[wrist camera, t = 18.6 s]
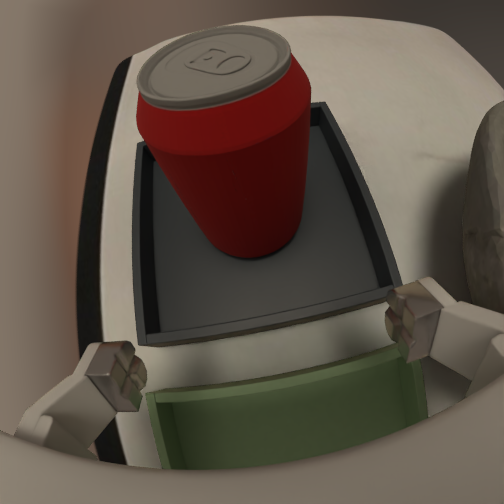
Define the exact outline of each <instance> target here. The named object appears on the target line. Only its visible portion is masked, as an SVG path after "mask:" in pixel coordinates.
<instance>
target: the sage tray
mask: <svg viewBox="0 0 504 504" xmlns="http://www.w3.org/2000/svg"><path fill="white" fill-rule="evenodd" d="M398 344H399V343H395V344H392V345H389V346H386V347H383V348H380V349H377V350H374V351H370V352H367V353H364V354H361V355H357V356H354V357H350V358H347V359H343V360H339V361H335V362H332V363H328V364H324V365H320V366H315V367H311V368H307V369H302V370H298V371H293V372H288V373H283V374H278V375H273V376H267V377H262V378H256V379H249V380H243V381H236V382H229V383H221V384H213V385H203V386H193V387H181V388H166V389H161V390H157V391H153V392H149V393H146V394H145V395H146V400H147V405H148V411H149V415H150V420H151V425H152V429H153V434H154V438H155V442H156V446H157V450H158V454H159V458H160V461H161V465H162V469H176V470H215V469H234V468H246V467H256V466H264V465H271V464H278V463H285V462H290V461H296V460H301V459H306V458H311V457H316V456H320V455H324V454H328V453H332V452H336V451H340V450H343V449H347V448H350V447H354V446H357V445H360V444H363V443H366V442H369V441H372V440H375V439H378V438H381V437H384V436H386V435H389V434H392V433H394V432H397V431H399V430H402V429H404V428H407V427H409V426H411V425H414V424H416V423H418V422H420V421H423V420H425V419H427V418H428V410H427V401H426V393H425V386H424V379H423V373H422V367H421V361H420V359H418V360H415V361H413V362H410V363H407V364H406V362H405V361H404V359H403V357H402V356H401V354H400V353H399V351H398Z"/></svg>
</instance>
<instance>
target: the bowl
mask: <svg viewBox="0 0 504 504" xmlns="http://www.w3.org/2000/svg"><path fill="white" fill-rule="evenodd" d="M462 238H463V256H464V266H465V271H466V276H467V281H468V286H469V290H470V294H471V299H472V303H473V305H476V306H479V307H482V308H485V309H488V310H491V311H495V312H498V313H501V314H504V101H502V102H500V103H498V104H496V105H495V106H493V107H492V108H491V109H490V110H489V111H488V112H487V113H486V114H485V116H484V118H483V119H482V121H481V124H480V126H479V128H478V130H477V133H476V136H475V139H474V143H473V148H472V152H471V158H470V165H469V170H468V177H467V183H466V191H465V200H464V209H463V224H462Z"/></svg>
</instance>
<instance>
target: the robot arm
mask: <svg viewBox="0 0 504 504" xmlns="http://www.w3.org/2000/svg"><path fill="white" fill-rule="evenodd" d="M386 302H387V303H388V304H389V308H388V309H387V311H386V312H385V325H386V330H387V332H388V335H389V337H390V338H391V340H393V341H395V342H397V343H399V344H398V351H399V353H400V354H401V356H402V357H403V359H404V361H405V362H406V364H407V363H410V362H413V361H415V360H418V359H421V358H423V357H426V356H428V355H429V357H431V358H433V359H434V360H436V361H438V362H440V363H441V364H443V365H445V366H447V367H448V368H450V369H452V370H454V371H455V372H457V373H459V374H461V375H462V376H464V377H466V378H467V379H469V380H471V381H472V382H471V384H470V386H469V388H468V390H467V392H466V394H465V399H463V400H462V401H460V402H458V403H456V404H454V405H453V406H451V407H449V408H447V409H445V410H443V411H441V412H439V413H437V414H435V415H433V416H431V417H429V418H427V419H425V420H423V421H420V422H418V423H416V424H414V425H411V426H409V427H407V428H404V429H402V430H399V431H397V432H394V433H392V434H389V435H386V436H384V437H381V438H378V439H375V440H372V441H369V442H366V443H363V444H360V445H357V446H354V447H350V448H347V449H343V450H340V451H336V452H332V453H328V454H324V455H320V456H316V457H311V458H306V459H301V460H296V461H290V462H285V463H278V464H271V465H264V466H256V467H246V468H234V469H215V470H176V469H158V468H146V467H136V466H128V465H121V464H114V463H108V462H102V461H97V460H98V459H97V457H96V455H94V454H93V453H92V452H90V451H89V450H88V448H89V446H90V445H91V444H92V443H93V442H94V440H95V439H96V438H97V437H98V436H99V434H100V433H101V432H102V431H103V430H104V428H105V427H106V426H107V425H108V424H109V422H110V421H111V420H112V419H113V418H114V417H115V415H116V414H117V412H138V411H139V408H140V404H141V400H142V397H143V396H142V394H141V392H140V391H141V390H142V389H143V388H144V387H145V386H146V382H147V370H146V367H145V365H144V363H143V361H142V360H141V359H140V358H139V357H137V356H136V355H135V348H134V346H133V345H132V343H131V342H129V341H114V342H103V343H102V342H100V343H92V344H90V345H88V347H87V349H86V351H85V353H84V354H83V356H82V358H81V360H80V362H79V364H78V365H77V367H76V369H75V371H74V373H73V375H70V376H68V377H67V378H65V379H64V380H63V381H61V382H60V383H59V384H58V385H56V386H55V387H54V388H53V389H51V390H50V391H49V392H48V393H46V394H45V395H44V396H43V397H41V398H40V399H39V400H38V401H36V402H35V403H34V404H33V405H32V406H30V407H29V408H28V409H26V411H25V413H24V415H23V417H22V419H21V421H20V423H19V426H18V427H17V430H16V432H15V434H14V436H12V435H10V434H8V433H5V432H3V431H1V430H0V504H504V314H501V313H498V312H495V311H491V310H488V309H485V308H482V307H479V306H476V305H472V304H469V303H466V302H463V301H460V302H457V301H456V300H455V299H454V298H453V297H452V296H451V295H450V294H448V293H447V292H446V291H445V290H444V289H443V288H442V287H441V286H440V285H439V284H438V283H437V282H436V281H435V280H434V279H432V278H431V277H425V278H422V279H419V280H416V281H415V282H412V283H409V284H405V285H402V286H399V287H396V288H392V289H389V290H388V292H387V296H386Z"/></svg>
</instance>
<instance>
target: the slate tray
mask: <svg viewBox="0 0 504 504" xmlns="http://www.w3.org/2000/svg"><path fill="white" fill-rule="evenodd" d="M132 270H133V292H134V307H135V320H136V330H137V340H138V345H139V346H150V347H165V346H173V345H181V344H189V343H196V342H203V341H210V340H216V339H223V338H229V337H235V336H240V335H246V334H251V333H257V332H262V331H267V330H272V329H277V328H282V327H287V326H292V325H296V324H301V323H305V322H309V321H314V320H318V319H322V318H326V317H330V316H334V315H338V314H342V313H346V312H350V311H354V310H358V309H361V308H365V307H368V306H372V305H376V304H379V303H382V302H386V296H387V292H388V290H389V289H392V288H396V287H399V286H402V285H403V284H402V281H401V277H400V274H399V271H398V267H397V264H396V261H395V258H394V255H393V252H392V249H391V246H390V243H389V240H388V237H387V235H386V232H385V229H384V226H383V224H382V221H381V218H380V216H379V213H378V211H377V208H376V206H375V203H374V201H373V198H372V196H371V193H370V191H369V189H368V186H367V184H366V182H365V179H364V177H363V175H362V173H361V171H360V168H359V166H358V164H357V162H356V160H355V158H354V156H353V153H352V151H351V149H350V147H349V145H348V143H347V141H346V139H345V137H344V135H343V133H342V132H341V130H340V128H339V126H338V124H337V122H336V120H335V118H334V117H333V115H332V113H331V111H330V109H329V108H328V106H327V104H326V102H319V103H318V102H315V103H311V110H310V133H309V149H308V163H307V175H306V185H305V195H304V203H303V211H302V218H301V222H300V225H299V227H298V229H297V231H296V232H295V234H294V235H293V237H292V238H291V239H290V240H289V241H288V242H287V243H286V244H285V245H283V246H282V247H281V248H279V249H278V250H276V251H274V252H272V253H269V254H267V255H263V256H259V257H252V258H245V257H237V256H233V255H230V254H227V253H225V252H223V251H221V250H219V249H218V248H216V247H215V246H214V245H213V244H212V243H211V242H210V241H209V240H208V239H207V237H206V236H205V234H204V233H203V232H202V230H201V229H200V227H199V226H198V224H197V223H196V222H195V220H194V219H193V217H192V216H191V214H190V213H189V211H188V210H187V208H186V207H185V205H184V204H183V202H182V201H181V199H180V198H179V196H178V194H177V193H176V191H175V190H174V188H173V187H172V185H171V183H170V182H169V180H168V179H167V177H166V176H165V174H164V172H163V171H162V169H161V168H160V166H159V164H158V163H157V161H156V159H155V158H154V156H153V154H152V153H151V151H150V149H149V148H148V146H147V144H146V143H145V141H142V142H139V143H137V149H136V160H135V172H134V187H133V209H132Z"/></svg>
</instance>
